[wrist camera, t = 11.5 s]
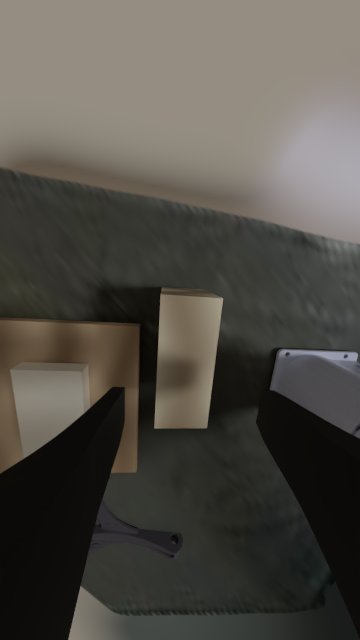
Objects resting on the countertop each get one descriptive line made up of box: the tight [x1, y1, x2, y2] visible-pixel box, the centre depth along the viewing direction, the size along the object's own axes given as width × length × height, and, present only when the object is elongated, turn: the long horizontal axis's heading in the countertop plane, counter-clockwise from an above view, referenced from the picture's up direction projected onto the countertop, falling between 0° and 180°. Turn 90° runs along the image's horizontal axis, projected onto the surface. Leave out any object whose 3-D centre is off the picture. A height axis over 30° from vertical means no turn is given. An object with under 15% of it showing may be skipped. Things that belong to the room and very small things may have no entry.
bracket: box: [88, 500, 183, 560], centre depth 25 cm, size 14×15×3 cm
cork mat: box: [0, 317, 141, 473], centre depth 20 cm, size 16×18×1 cm
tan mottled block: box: [154, 287, 223, 428], centre depth 16 cm, size 4×10×7 cm, turn 176°
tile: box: [10, 362, 90, 458], centre depth 19 cm, size 2×10×6 cm
